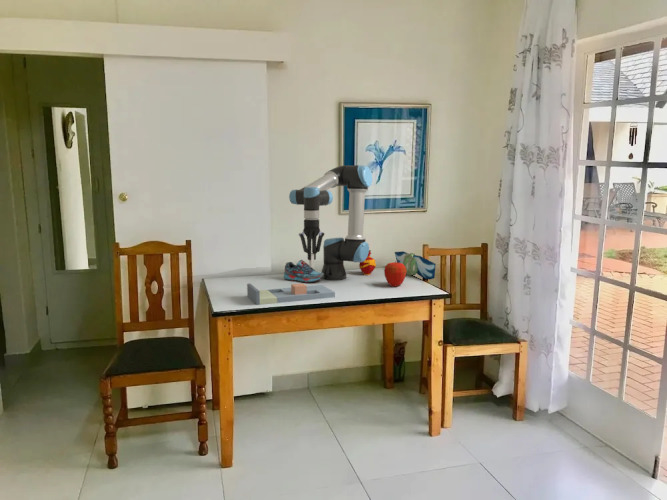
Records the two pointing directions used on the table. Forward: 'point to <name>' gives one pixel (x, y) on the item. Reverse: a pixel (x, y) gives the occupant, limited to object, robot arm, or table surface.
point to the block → (298, 289)
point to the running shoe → (301, 272)
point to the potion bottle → (367, 265)
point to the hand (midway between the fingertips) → (311, 266)
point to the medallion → (416, 265)
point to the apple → (395, 273)
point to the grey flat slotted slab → (287, 294)
